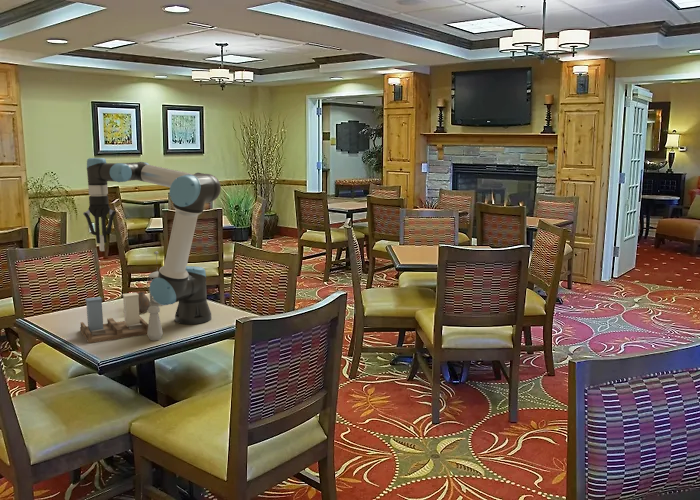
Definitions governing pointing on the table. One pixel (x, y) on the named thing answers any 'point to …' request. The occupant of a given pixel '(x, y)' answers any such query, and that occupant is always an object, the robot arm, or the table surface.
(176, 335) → the table surface
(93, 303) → the blue-grey rectangular block
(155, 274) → the french press
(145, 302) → the vase
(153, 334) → the salt shaker
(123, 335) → the wooden divided tray
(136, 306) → the cream tall block
